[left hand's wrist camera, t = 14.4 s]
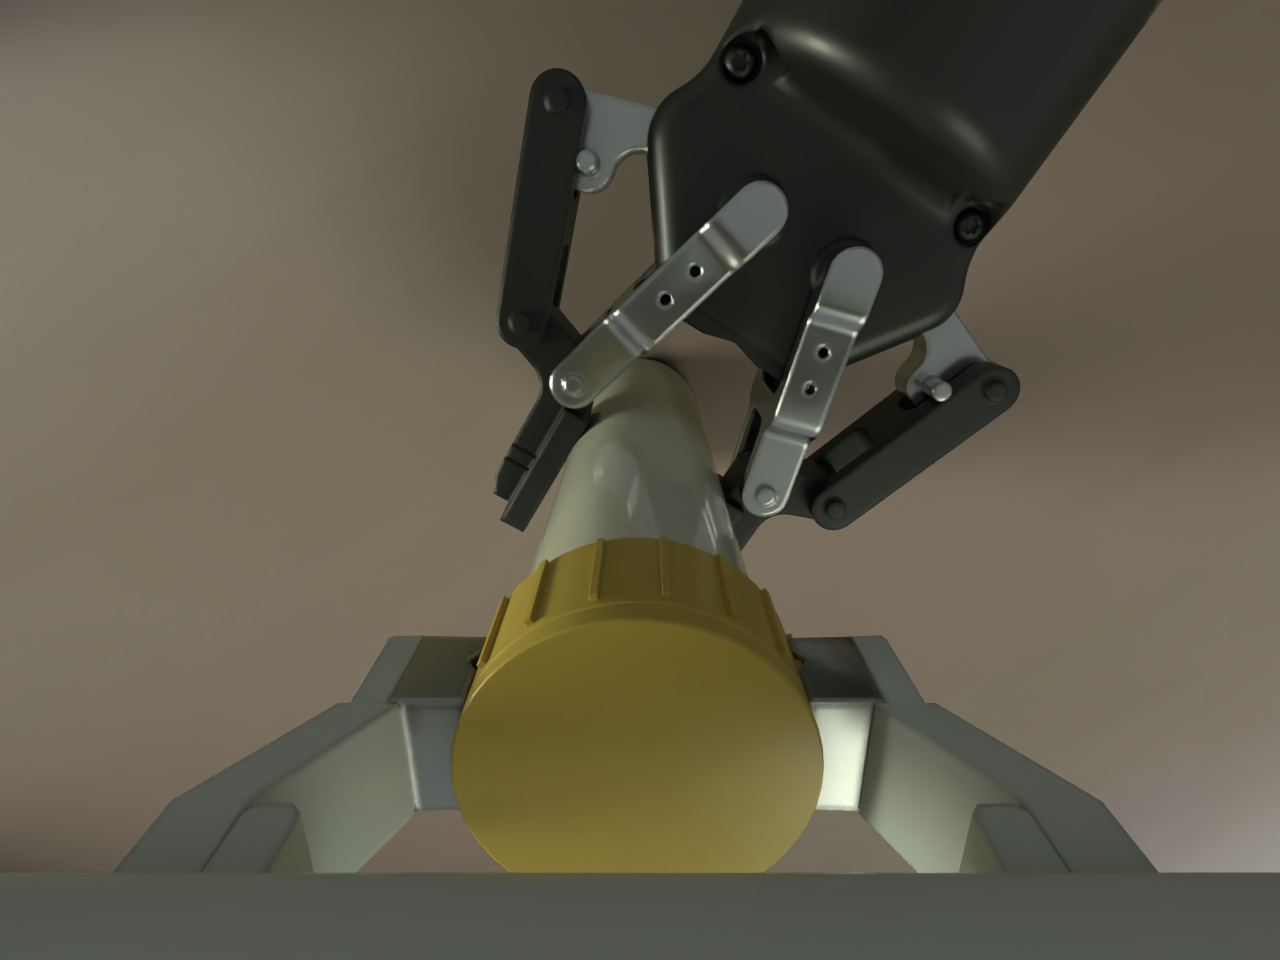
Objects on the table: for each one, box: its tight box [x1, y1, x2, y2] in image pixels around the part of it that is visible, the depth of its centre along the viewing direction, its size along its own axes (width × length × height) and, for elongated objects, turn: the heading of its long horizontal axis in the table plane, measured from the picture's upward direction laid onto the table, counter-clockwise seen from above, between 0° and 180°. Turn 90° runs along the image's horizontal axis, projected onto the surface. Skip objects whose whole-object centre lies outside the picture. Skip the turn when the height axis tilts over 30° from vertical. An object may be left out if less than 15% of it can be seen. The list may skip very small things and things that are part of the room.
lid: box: [450, 536, 824, 873], centre depth 9 cm, size 5×5×2 cm
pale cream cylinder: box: [529, 359, 748, 577], centre depth 17 cm, size 4×4×17 cm
